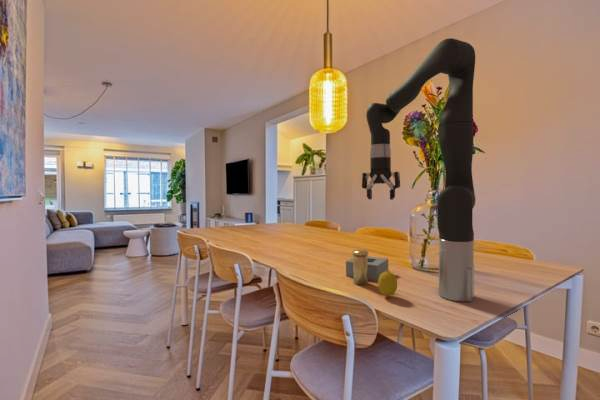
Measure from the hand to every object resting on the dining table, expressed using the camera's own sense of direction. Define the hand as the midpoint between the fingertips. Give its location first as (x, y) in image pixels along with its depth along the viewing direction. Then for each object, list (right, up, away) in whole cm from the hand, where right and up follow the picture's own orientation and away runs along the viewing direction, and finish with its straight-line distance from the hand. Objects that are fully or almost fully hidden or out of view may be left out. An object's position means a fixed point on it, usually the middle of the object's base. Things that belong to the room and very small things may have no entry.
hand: (380, 199), depth 119 cm
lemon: (-5, -30, -25) cm, 39 cm away
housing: (-5, -28, -2) cm, 29 cm away
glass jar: (-10, -29, -12) cm, 33 cm away
